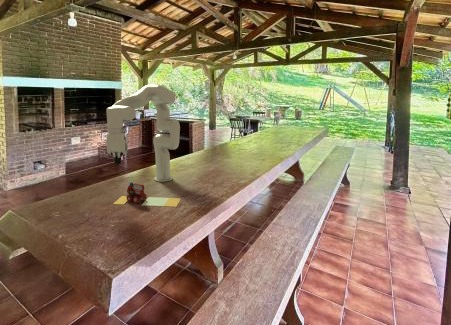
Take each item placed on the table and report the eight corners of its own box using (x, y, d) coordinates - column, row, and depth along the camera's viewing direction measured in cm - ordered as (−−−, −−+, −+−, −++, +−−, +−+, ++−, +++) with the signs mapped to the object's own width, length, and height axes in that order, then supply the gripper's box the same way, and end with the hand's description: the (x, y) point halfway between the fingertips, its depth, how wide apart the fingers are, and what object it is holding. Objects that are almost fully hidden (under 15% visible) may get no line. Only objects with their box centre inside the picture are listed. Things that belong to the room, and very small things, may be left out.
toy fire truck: (133, 196, 169) (131, 179, 166) (149, 200, 163) (147, 183, 161) (123, 200, 163) (122, 183, 161) (140, 204, 157) (138, 186, 155)
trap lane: (121, 196, 170) (121, 196, 170) (181, 198, 168) (181, 198, 167) (112, 204, 158) (112, 203, 158) (176, 206, 156) (176, 206, 156)
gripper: (132, 130, 157) (134, 163, 162) (105, 129, 158) (108, 162, 163) (126, 132, 150) (128, 166, 154) (98, 131, 151) (101, 165, 155)
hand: (118, 164), depth 158 cm, fingers closed
